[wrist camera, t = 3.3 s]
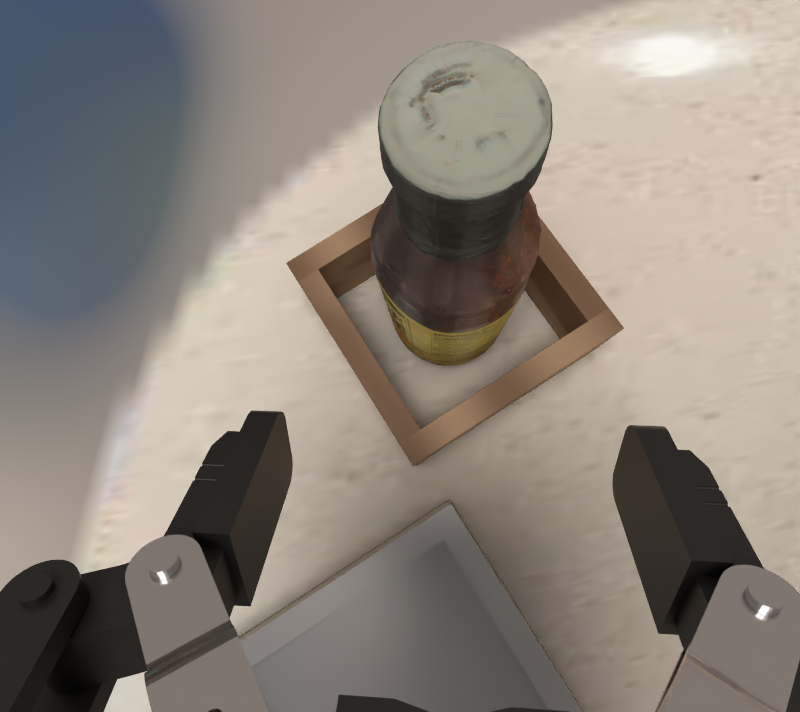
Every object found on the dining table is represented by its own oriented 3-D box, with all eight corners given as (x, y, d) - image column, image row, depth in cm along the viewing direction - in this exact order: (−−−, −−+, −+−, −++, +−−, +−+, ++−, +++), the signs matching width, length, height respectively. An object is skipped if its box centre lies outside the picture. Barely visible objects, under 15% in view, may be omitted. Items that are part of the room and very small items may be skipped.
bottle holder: (475, 189, 33) (482, 142, 28) (594, 349, 31) (623, 328, 26) (308, 293, 33) (286, 263, 28) (416, 465, 30) (412, 465, 25)
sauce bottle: (403, 261, 33) (355, -38, 13) (507, 275, 32) (618, -17, 13) (385, 367, 31) (303, 209, 12) (493, 383, 31) (590, 245, 11)
